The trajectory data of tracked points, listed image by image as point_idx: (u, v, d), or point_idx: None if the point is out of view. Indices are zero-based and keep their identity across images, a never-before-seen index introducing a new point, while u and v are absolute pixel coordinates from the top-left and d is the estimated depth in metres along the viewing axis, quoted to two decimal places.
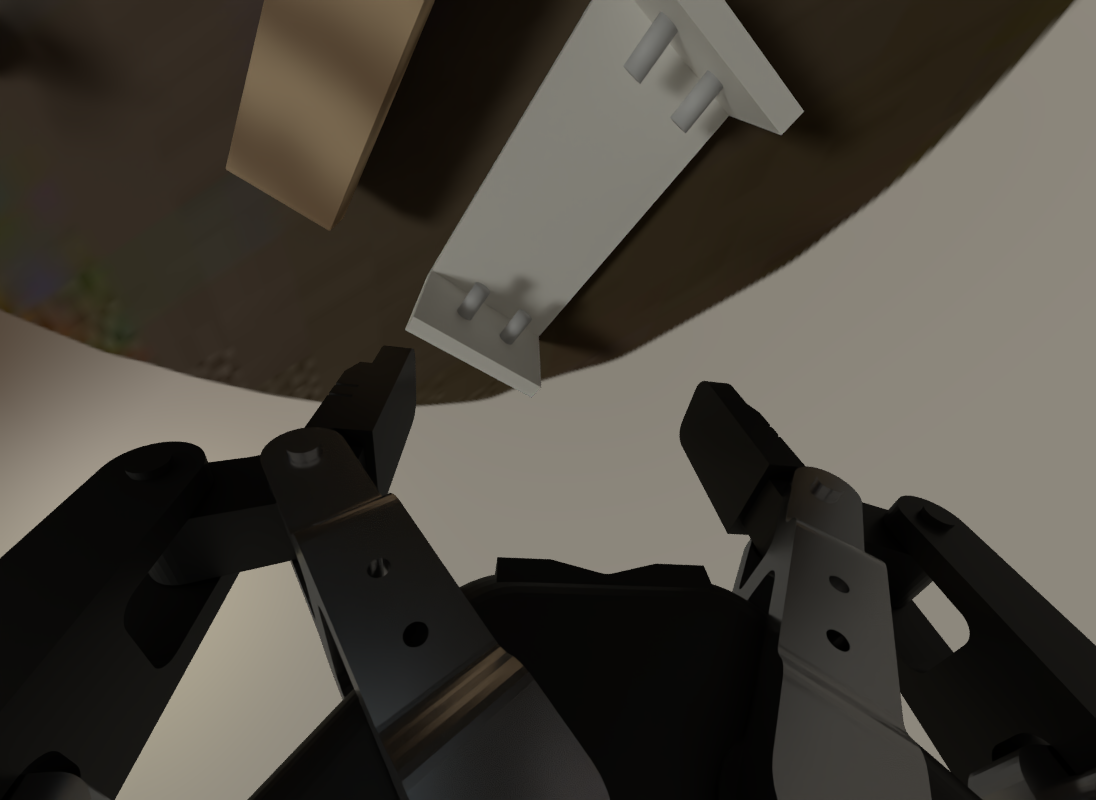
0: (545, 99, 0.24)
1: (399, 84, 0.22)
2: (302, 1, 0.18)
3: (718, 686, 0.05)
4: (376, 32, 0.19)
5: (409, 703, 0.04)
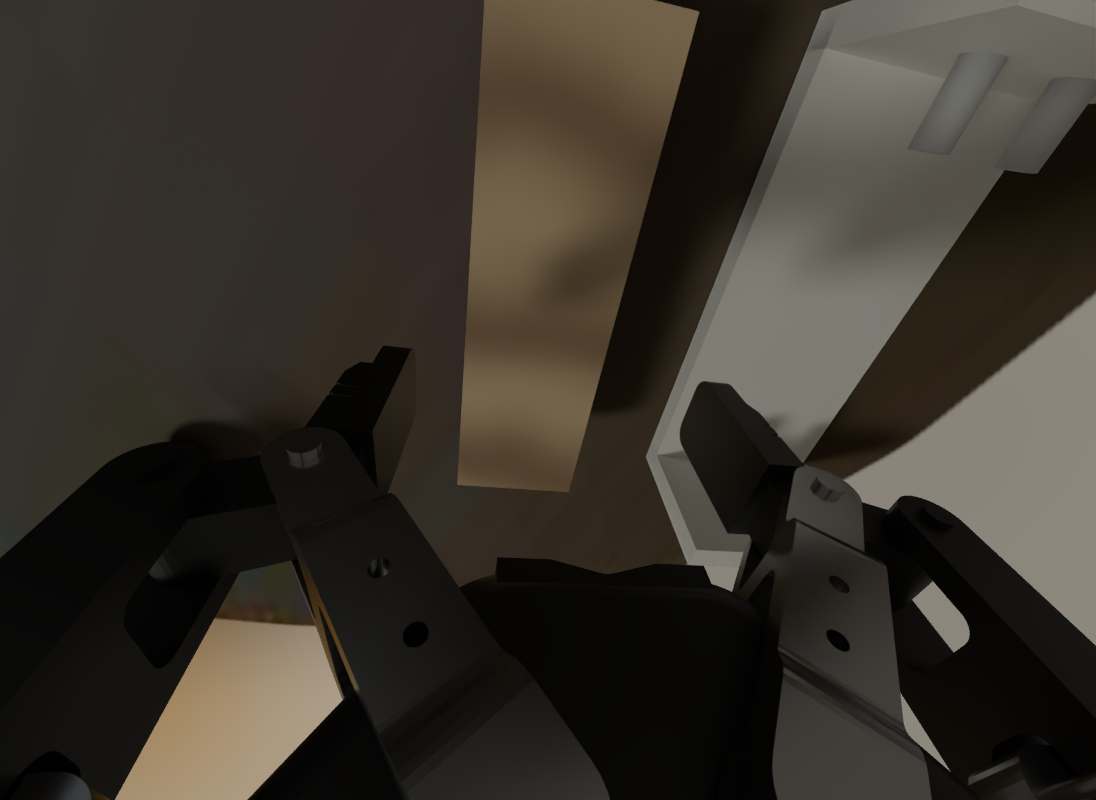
0: (761, 231, 0.18)
1: None
2: (504, 310, 0.15)
3: (718, 686, 0.05)
4: (588, 295, 0.15)
5: (409, 703, 0.04)
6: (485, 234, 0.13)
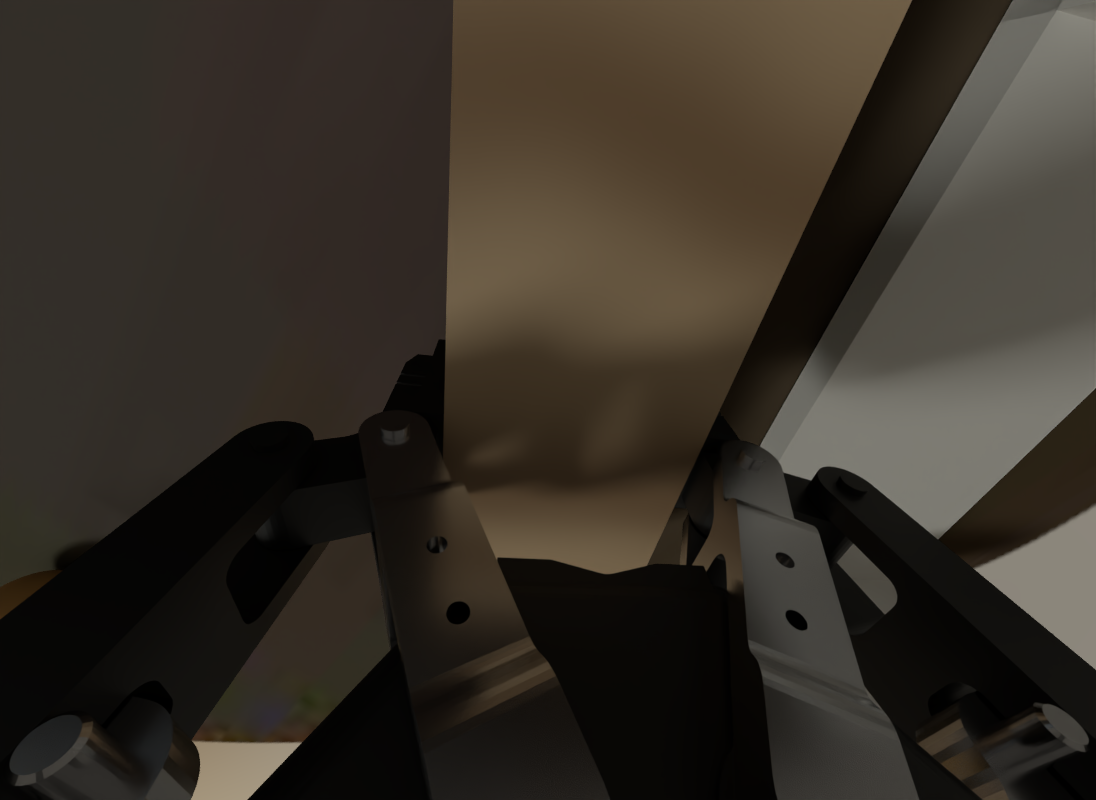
0: (897, 298, 0.12)
1: None
2: (507, 458, 0.09)
3: (718, 686, 0.05)
4: (651, 433, 0.09)
5: (441, 674, 0.04)
6: (470, 348, 0.07)
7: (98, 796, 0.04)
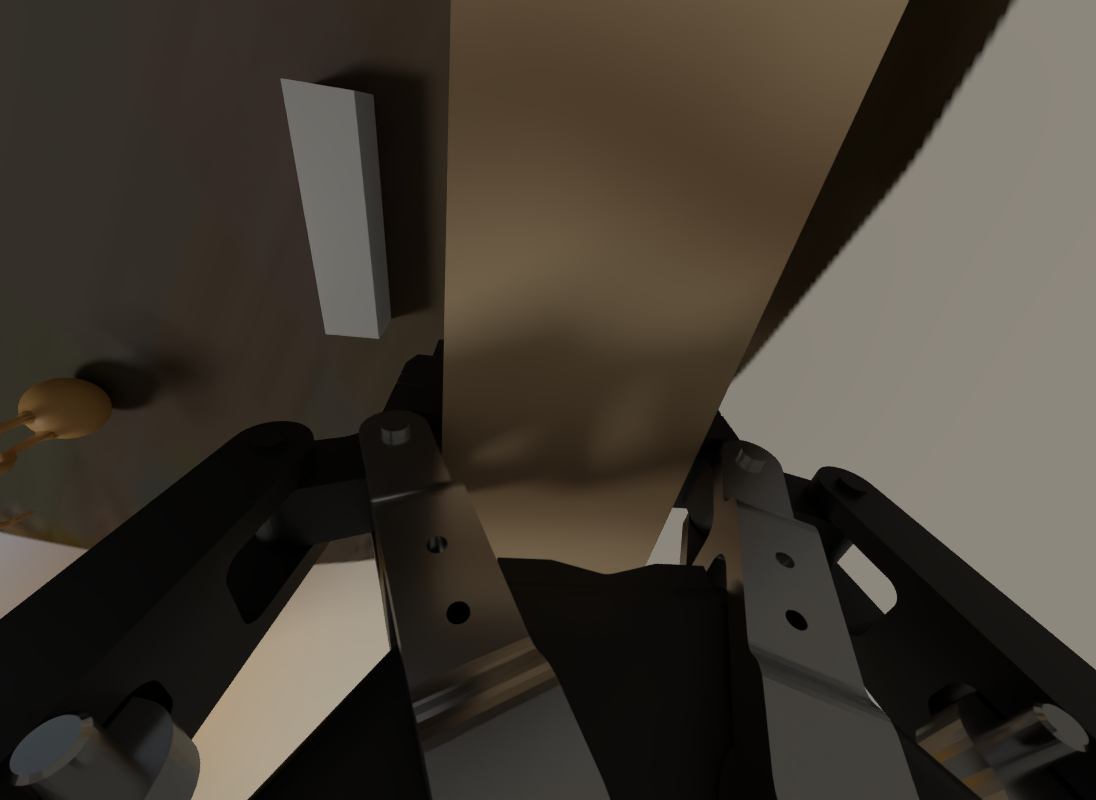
0: None
1: None
2: (505, 459, 0.09)
3: (718, 686, 0.05)
4: (648, 435, 0.09)
5: (441, 674, 0.04)
6: (469, 350, 0.07)
7: (99, 795, 0.04)
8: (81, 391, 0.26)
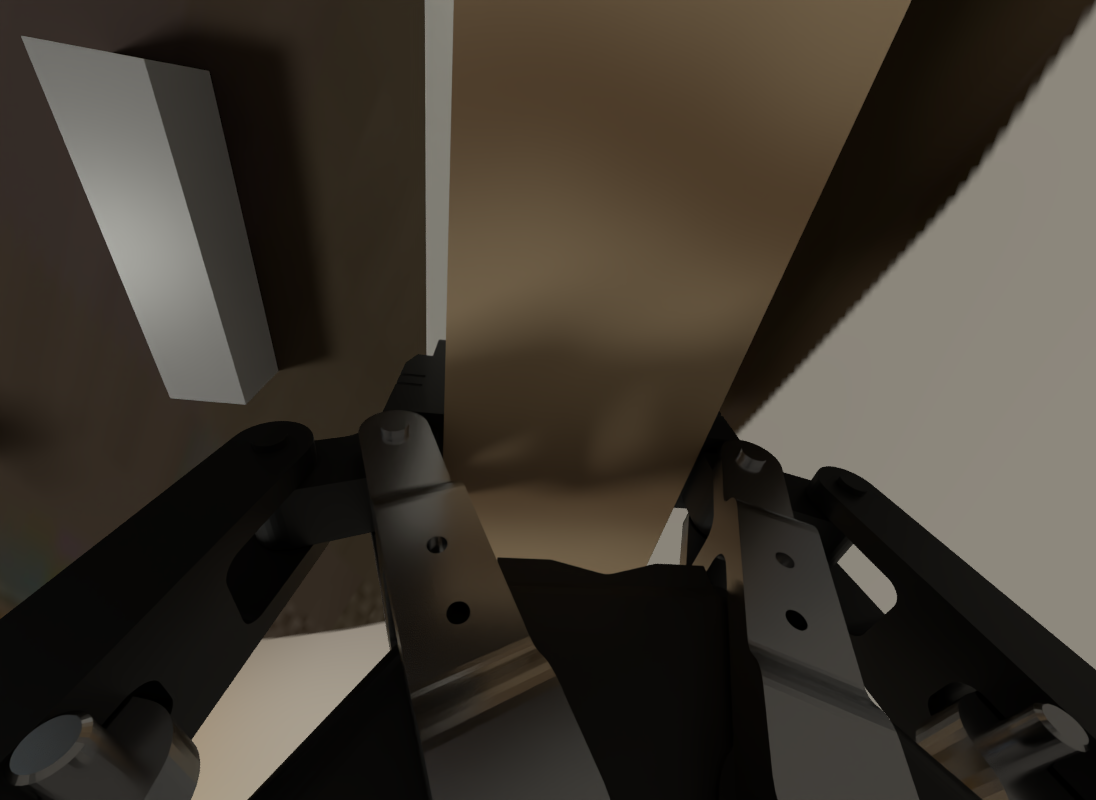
0: (440, 190, 0.16)
1: None
2: (506, 460, 0.09)
3: (718, 686, 0.05)
4: (649, 436, 0.09)
5: (441, 674, 0.04)
6: (471, 351, 0.07)
7: (98, 795, 0.04)
8: None
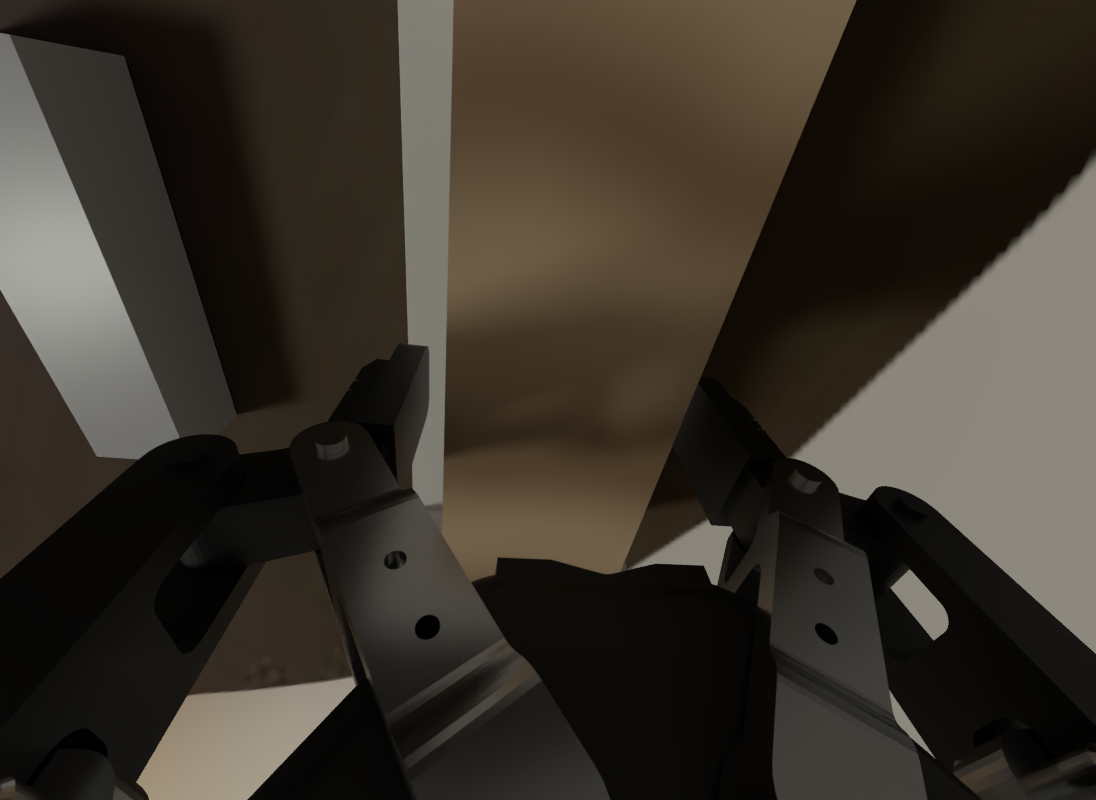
0: (422, 206, 0.12)
1: None
2: (503, 431, 0.09)
3: (718, 686, 0.05)
4: (634, 408, 0.09)
5: (418, 694, 0.04)
6: (469, 327, 0.08)
7: None
8: None
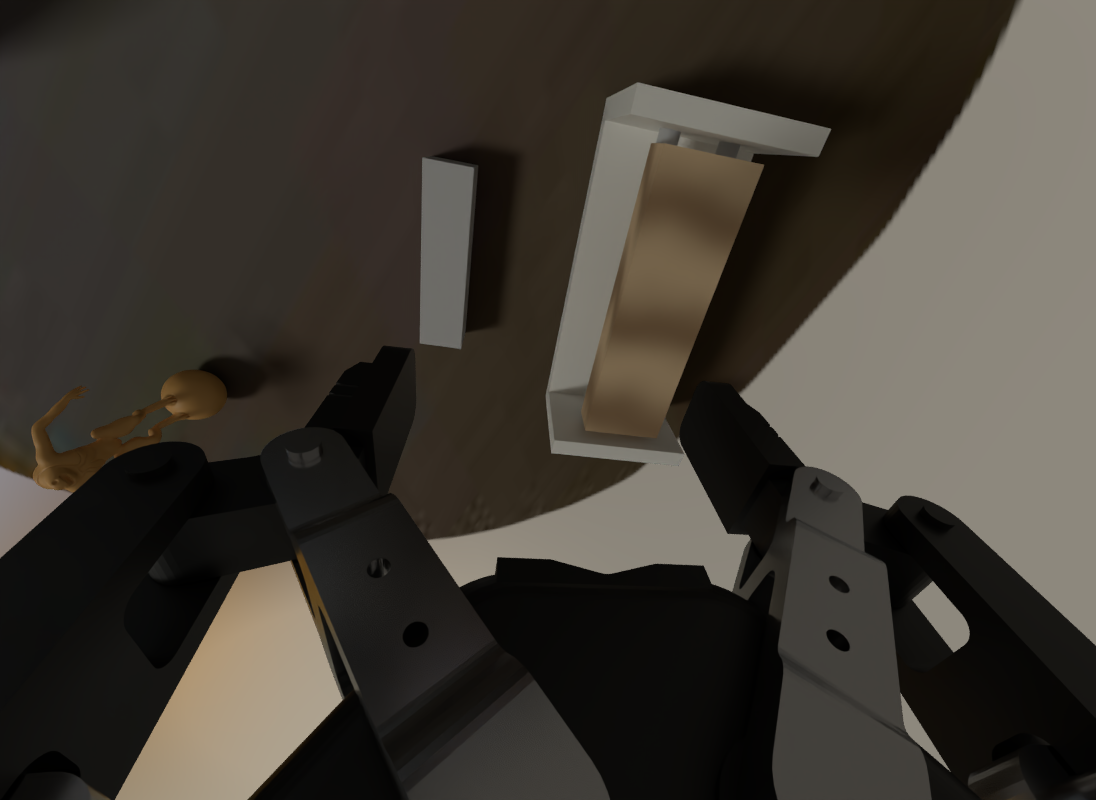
0: (590, 228, 0.28)
1: None
2: (639, 314, 0.25)
3: (718, 686, 0.05)
4: (688, 306, 0.25)
5: (409, 703, 0.04)
6: (636, 271, 0.24)
7: None
8: (210, 381, 0.32)
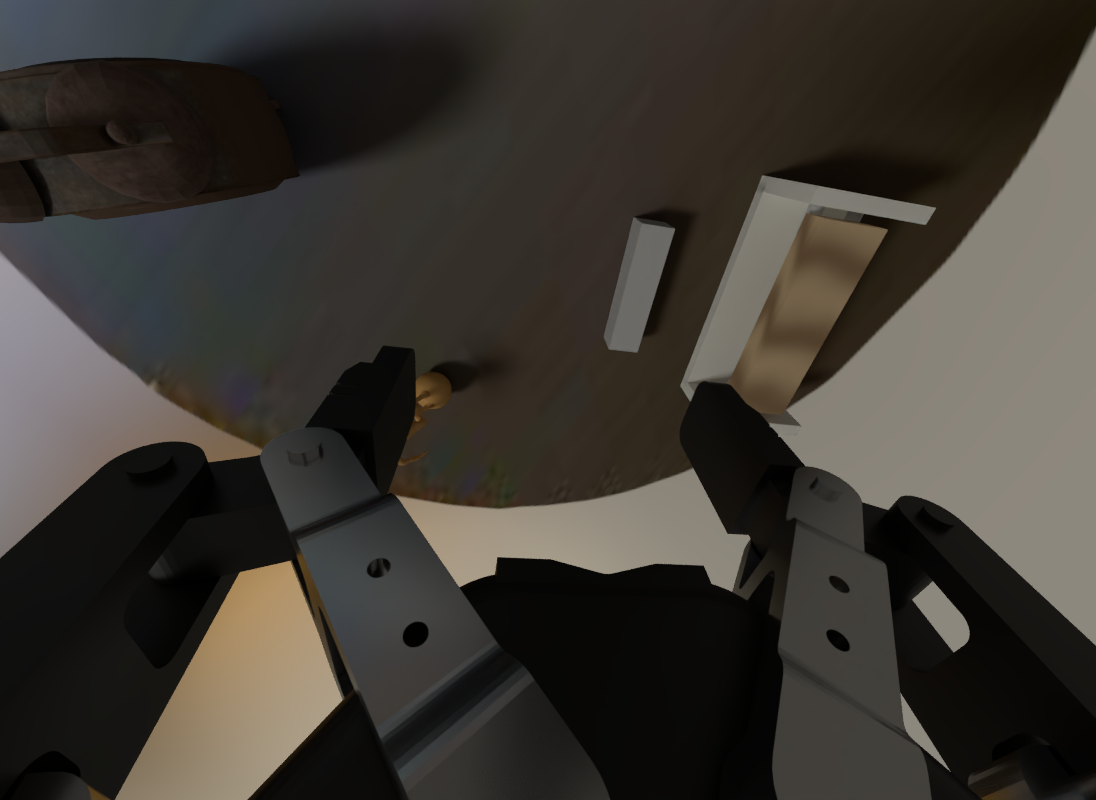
0: (740, 263, 0.39)
1: None
2: (787, 327, 0.36)
3: (718, 686, 0.05)
4: (822, 321, 0.36)
5: (409, 702, 0.04)
6: (791, 299, 0.35)
7: None
8: (446, 380, 0.43)
